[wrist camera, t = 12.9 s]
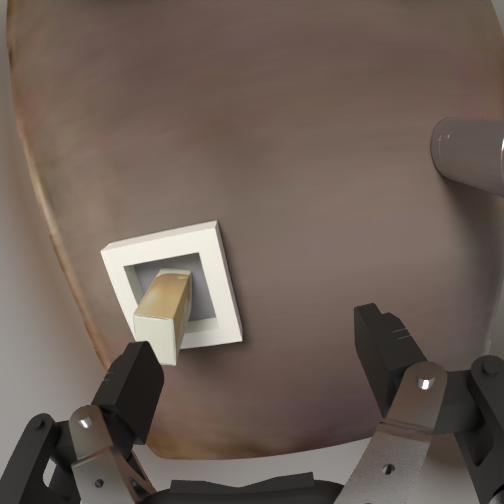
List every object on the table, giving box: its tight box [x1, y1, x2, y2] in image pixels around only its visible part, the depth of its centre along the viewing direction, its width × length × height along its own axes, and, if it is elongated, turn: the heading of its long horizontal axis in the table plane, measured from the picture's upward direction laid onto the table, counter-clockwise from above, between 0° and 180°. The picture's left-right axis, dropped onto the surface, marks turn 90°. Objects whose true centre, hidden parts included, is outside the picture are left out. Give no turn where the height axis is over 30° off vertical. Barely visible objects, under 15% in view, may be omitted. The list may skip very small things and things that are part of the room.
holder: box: [101, 220, 242, 349], centre depth 39 cm, size 15×16×4 cm
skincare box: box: [133, 268, 192, 365], centre depth 35 cm, size 6×4×12 cm
